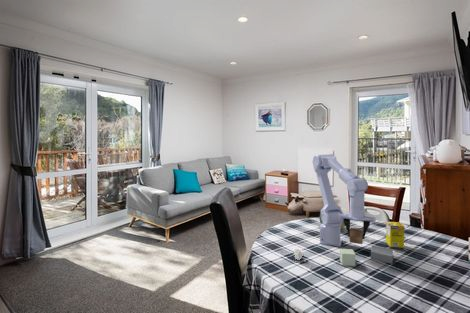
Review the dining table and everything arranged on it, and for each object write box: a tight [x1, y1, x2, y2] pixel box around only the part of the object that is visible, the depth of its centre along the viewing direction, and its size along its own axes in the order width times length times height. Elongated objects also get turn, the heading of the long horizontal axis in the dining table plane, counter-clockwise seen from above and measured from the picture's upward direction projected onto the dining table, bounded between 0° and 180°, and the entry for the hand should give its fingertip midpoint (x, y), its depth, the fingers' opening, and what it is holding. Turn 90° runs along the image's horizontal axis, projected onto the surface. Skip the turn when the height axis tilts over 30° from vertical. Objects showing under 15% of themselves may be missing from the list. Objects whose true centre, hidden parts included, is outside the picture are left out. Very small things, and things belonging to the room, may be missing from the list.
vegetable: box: [319, 211, 346, 230], centre depth 154 cm, size 12×13×15 cm
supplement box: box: [385, 221, 405, 250], centre depth 127 cm, size 6×6×11 cm
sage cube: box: [339, 248, 356, 267], centre depth 111 cm, size 5×5×5 cm
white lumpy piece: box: [293, 249, 304, 261], centre depth 116 cm, size 9×8×4 cm
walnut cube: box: [349, 226, 364, 245], centre depth 117 cm, size 5×5×5 cm
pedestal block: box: [370, 245, 394, 265], centre depth 116 cm, size 8×8×4 cm
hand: (356, 237), depth 117 cm, fingers closed on walnut cube, 5 cm apart
